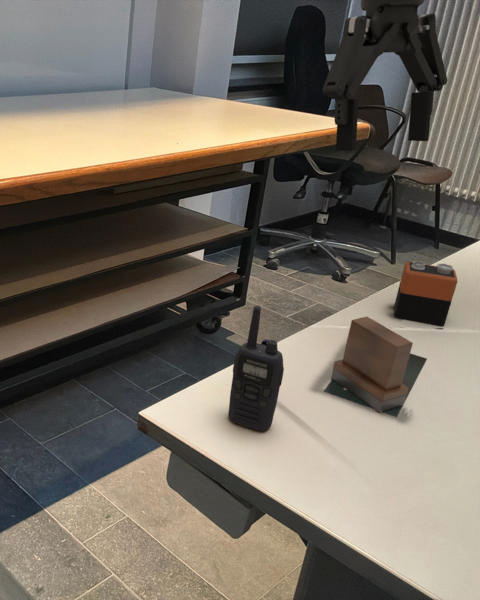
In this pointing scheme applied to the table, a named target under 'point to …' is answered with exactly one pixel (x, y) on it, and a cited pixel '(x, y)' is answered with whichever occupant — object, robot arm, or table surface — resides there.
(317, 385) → the table surface
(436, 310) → the battery
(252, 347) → the two-way radio
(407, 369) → the chalkboard
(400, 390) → the eraser
